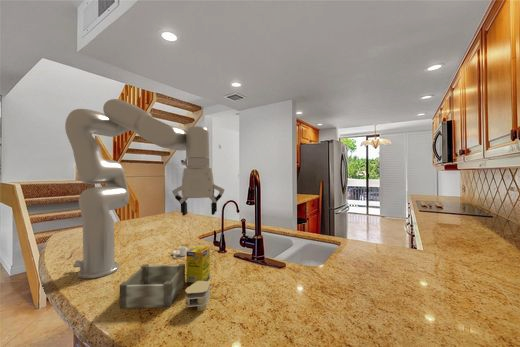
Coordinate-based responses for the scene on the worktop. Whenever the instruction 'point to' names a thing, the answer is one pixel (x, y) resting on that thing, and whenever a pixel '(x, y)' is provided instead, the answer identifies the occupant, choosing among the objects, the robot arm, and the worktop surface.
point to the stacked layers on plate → (198, 295)
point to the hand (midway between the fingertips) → (199, 214)
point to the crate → (152, 286)
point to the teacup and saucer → (180, 252)
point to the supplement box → (198, 264)
